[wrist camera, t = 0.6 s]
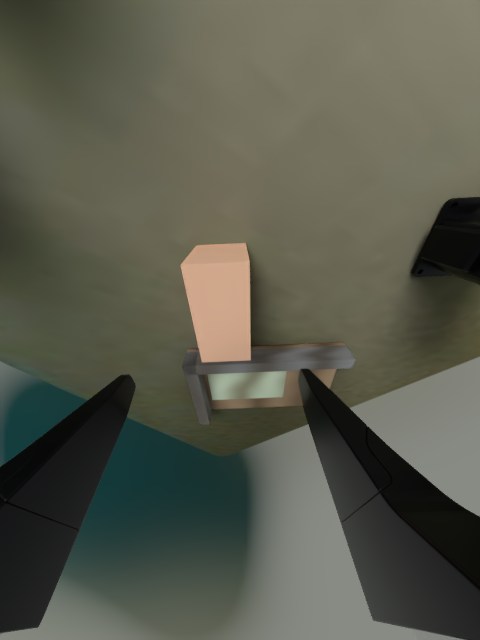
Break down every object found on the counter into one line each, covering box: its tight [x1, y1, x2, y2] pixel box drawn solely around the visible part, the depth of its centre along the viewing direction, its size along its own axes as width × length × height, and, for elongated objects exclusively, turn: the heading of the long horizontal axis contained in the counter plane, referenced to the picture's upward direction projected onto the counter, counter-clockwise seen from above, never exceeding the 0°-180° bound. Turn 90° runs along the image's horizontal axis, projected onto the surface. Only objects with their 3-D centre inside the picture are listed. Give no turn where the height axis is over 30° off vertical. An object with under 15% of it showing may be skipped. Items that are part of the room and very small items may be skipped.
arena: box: [182, 342, 356, 425], centre depth 26 cm, size 20×13×3 cm, turn 92°
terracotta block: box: [181, 243, 251, 362], centre depth 17 cm, size 4×9×6 cm, turn 2°
